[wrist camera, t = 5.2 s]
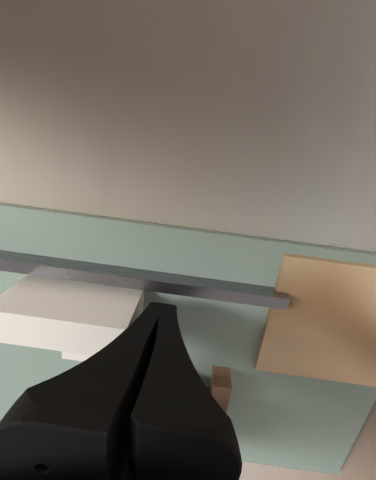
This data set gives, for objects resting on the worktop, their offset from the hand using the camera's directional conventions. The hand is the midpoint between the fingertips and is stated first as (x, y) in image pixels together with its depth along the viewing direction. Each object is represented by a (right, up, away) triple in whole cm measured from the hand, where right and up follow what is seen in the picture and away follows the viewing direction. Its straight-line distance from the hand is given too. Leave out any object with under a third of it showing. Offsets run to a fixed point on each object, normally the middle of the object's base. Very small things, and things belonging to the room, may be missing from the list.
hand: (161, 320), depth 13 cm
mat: (0, -3, +3) cm, 4 cm away
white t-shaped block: (-4, 0, +2) cm, 5 cm away
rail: (-2, +2, +1) cm, 3 cm away
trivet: (+9, 0, +1) cm, 9 cm away
